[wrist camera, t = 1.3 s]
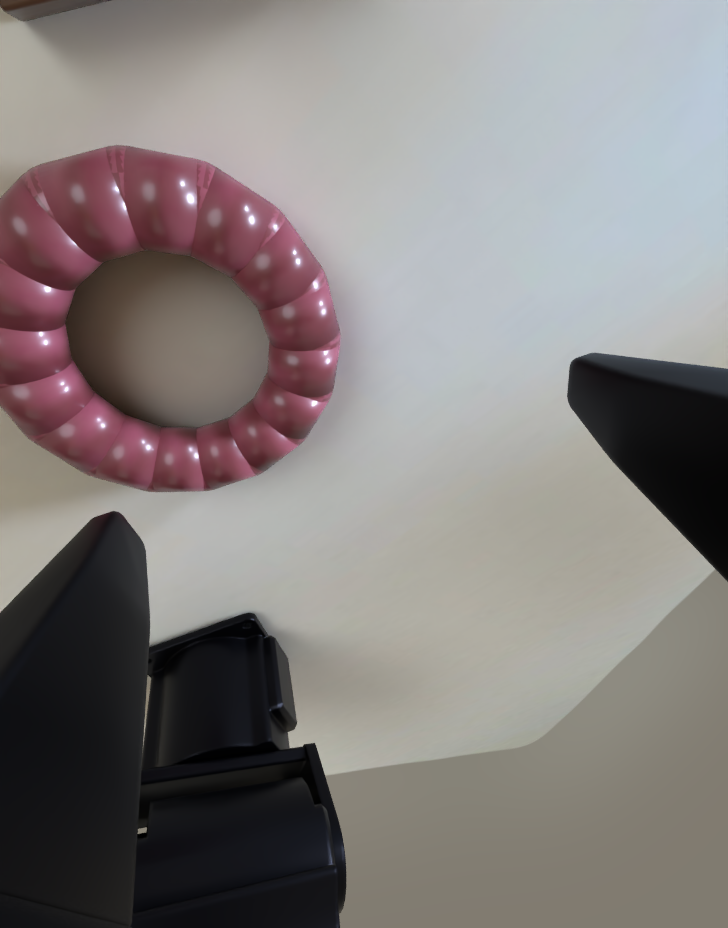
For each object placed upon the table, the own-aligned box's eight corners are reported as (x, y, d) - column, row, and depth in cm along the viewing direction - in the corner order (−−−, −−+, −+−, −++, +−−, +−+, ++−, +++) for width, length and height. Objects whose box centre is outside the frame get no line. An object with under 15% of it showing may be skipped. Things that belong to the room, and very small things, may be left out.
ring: (108, 500, 19) (96, 542, 17) (-121, 208, 12) (-183, 222, 10) (358, 419, 19) (373, 449, 18) (276, 102, 13) (287, 97, 11)
